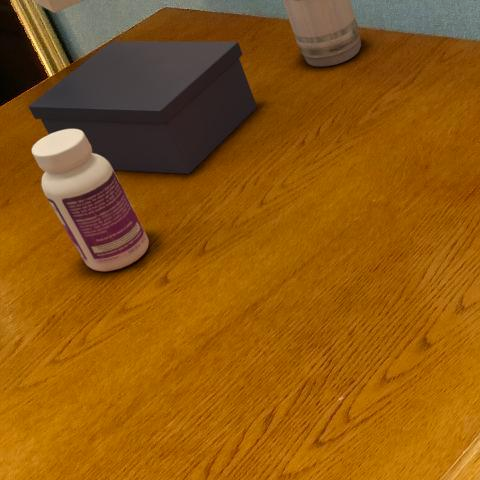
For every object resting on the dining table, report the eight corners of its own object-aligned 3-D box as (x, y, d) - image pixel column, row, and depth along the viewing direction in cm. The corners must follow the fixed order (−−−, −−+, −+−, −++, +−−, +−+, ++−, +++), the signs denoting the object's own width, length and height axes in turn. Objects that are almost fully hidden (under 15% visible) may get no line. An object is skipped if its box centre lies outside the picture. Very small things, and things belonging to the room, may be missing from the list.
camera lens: (366, 35, 102) (343, -48, 96) (360, 62, 98) (336, -23, 92) (307, 45, 103) (280, -37, 97) (298, 72, 99) (270, -12, 93)
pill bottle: (163, 236, 82) (107, 122, 74) (130, 274, 78) (68, 160, 71) (108, 234, 83) (48, 123, 76) (73, 272, 80) (7, 160, 73)
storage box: (61, 169, 93) (27, 106, 88) (139, 102, 100) (111, 41, 95) (190, 176, 88) (160, 110, 83) (261, 105, 95) (238, 41, 90)
